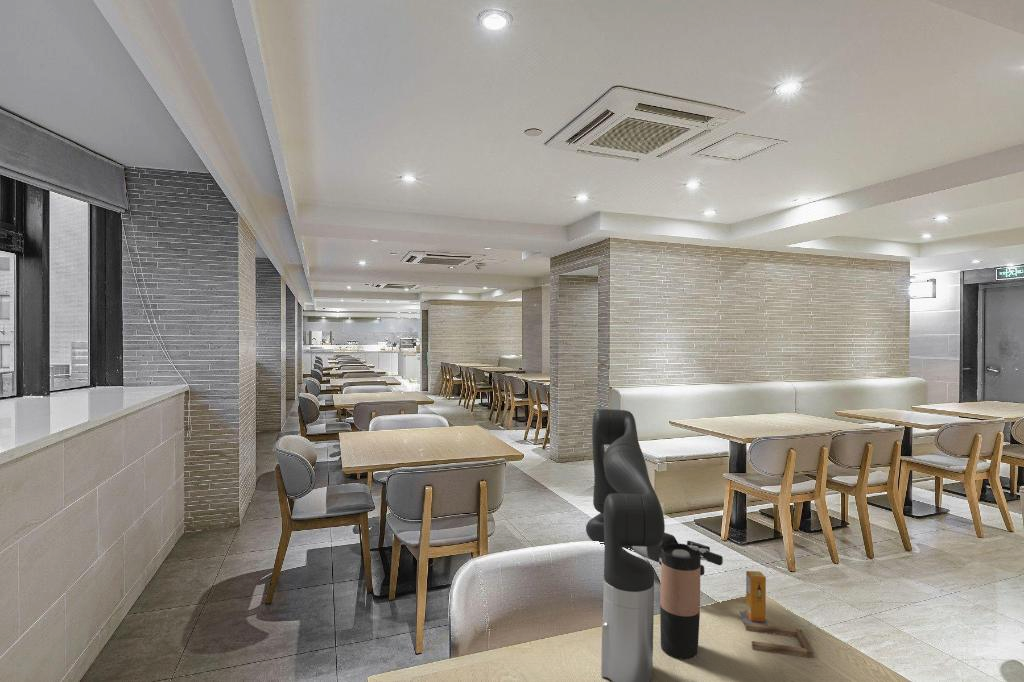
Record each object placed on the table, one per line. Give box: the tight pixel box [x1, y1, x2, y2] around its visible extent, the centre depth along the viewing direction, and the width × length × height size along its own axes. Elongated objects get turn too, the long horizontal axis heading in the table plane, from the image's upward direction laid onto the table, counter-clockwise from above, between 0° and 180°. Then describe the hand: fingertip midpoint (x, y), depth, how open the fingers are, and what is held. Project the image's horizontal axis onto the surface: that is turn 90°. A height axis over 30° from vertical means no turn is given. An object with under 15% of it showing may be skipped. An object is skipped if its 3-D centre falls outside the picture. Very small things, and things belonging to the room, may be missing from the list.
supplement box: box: [745, 570, 767, 622], centre depth 119 cm, size 3×3×10 cm
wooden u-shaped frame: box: [744, 622, 815, 659], centre depth 111 cm, size 11×8×1 cm
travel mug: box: [659, 542, 702, 660], centre depth 108 cm, size 8×8×20 cm
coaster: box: [739, 610, 770, 626], centre depth 119 cm, size 5×5×1 cm
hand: (713, 566), depth 126 cm, fingers open, 8 cm apart
